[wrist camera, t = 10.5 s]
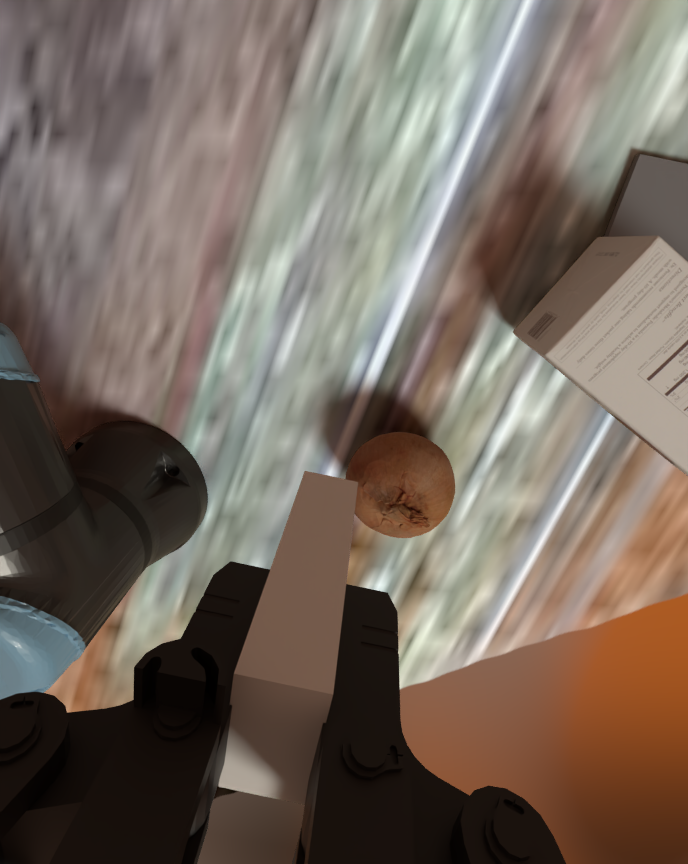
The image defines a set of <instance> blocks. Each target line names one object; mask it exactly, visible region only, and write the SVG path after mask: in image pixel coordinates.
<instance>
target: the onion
mask: <svg viewBox="0 0 688 864" xmlns="http://www.w3.org/2000/svg"><path fill="white" fill-rule="evenodd" d="M346 480H351V481H355V482H358V488H357V497H356V505H355V514H356V516H357V517H358V518H359V519H360V520H361V521H362V522H363V523H364V524H365V525H367V526H368V527H370V528H371V529H373V530H375V531H378V532H380V533H382V534H385V535H388V536H392V537H397V538H411V537H414V536H419V535H422V534H424V533H427V532H429V531H431V530H432V529H433V528H435V527H436V526H437V525H438V524H439V523H440V522H441V521H442V520H443V519H444V518H445V517H446V515H447V514H448V512H449V510H450V508H451V505H452V502H453V499H454V495H455V479H454V474H453V470H452V467H451V464H450V462H449V459H448V458H447V456H446V455H445V453H444V452H443V450H442V449H440V448H439V447H438V446H437V445H436V444H434V443H433V442H431V441H430V440H428V439H426V438H425V437H422V436H419V435H416V434H412V433H407V432H392V433H387V434H382V435H379V436H377V437H374V438H372V439H371V440H369V441H367V442H366V443H364V444H363V445H362V446H361V447H359V449H358V450H357V451H356V453H355V454H354V455H353V457H352V459H351V461H350V463H349V465H348V469H347V472H346Z"/></svg>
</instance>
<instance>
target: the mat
mask: <svg viewBox="0 0 688 864" xmlns="http://www.w3.org/2000/svg"><path fill="white" fill-rule="evenodd" d="M621 236H660V237H661V238H662V239H663V240H664V241H665V242H666V243H668V244H669V245H670V246H671V247H672V248H673V249H674V250H675V251H676V252H677V253H679V254H680V255H681V256H682V257H683V258H684V259H685V260H686V261H687V262H688V164H686V163H681V162H677V161H672V160H667V159H662V158H657V157H652V156H648V155H643V154H639V155H636V156H635V158H634V160H633V163H632V165H631V168H630V171H629V173H628V176H627V178H626V181H625V183H624V186H623V188H622V191H621V194H620V196H619V199H618V201H617V204H616V206H615V209H614V212H613V214H612V217H611V219H610V222H609V224H608V227H607V230H606V232H605V235H604V237H621Z"/></svg>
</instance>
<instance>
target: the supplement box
mask: <svg viewBox="0 0 688 864" xmlns="http://www.w3.org/2000/svg"><path fill="white" fill-rule="evenodd" d="M513 333H514V334H515V335H516V336H517V337H518V338H519V339H521V340H522V341H523V342H524V343H526V344H527V345H528V346H529V347H531V348H532V349H533V350H534V351H536V352H537V353H538V354H540V355H541V356H542V357H543V358H545V359H546V360H547V361H548V362H549V363H550V364H552V365H553V366H554V367H555V368H556V369H558V370H559V371H560V372H561V373H562V374H563V375H565V376H566V377H567V378H568V379H569V380H571V381H572V382H573V383H574V384H575V385H576V386H578V387H579V388H580V389H581V390H582V391H584V392H585V393H586V394H587V395H588V396H590V397H591V398H592V399H593V400H594V401H596V402H597V403H598V404H599V405H600V406H601V407H603V408H604V409H605V410H606V411H607V412H609V413H610V414H611V415H612V416H613V417H615V418H616V419H617V420H618V421H619V422H621V423H622V424H623V425H624V426H626V427H627V428H628V429H629V430H630V431H632V432H633V433H634V434H635V435H637V436H638V437H639V438H640V439H641V440H643V441H644V442H645V443H646V444H648V445H649V446H650V447H651V448H653V449H654V450H655V451H656V452H658V453H659V454H660V455H661V456H663V457H664V458H665V459H666V460H668V461H669V462H670V463H671V464H673V465H674V466H675V467H677V468H678V469H679V470H680V471H682V472H683V473H684V474H686V475H687V476H688V262H687V261H686V260H685V259H684V258H683V257H682V256H681V255H680V254H679V253H677V252H676V251H675V250H674V249H673V248H672V247H671V246H670V245H669V244H668V243H666V242H665V241H664V240H663V239H662V238H661V237H660V236H621V237H597V238H596V239H595V240H594V241H593V242H592V244H591V245H590V246H589V247H588V248H587V249H586V250H585V251H584V253H583V254H582V255H581V256H580V257H579V258H578V259H577V261H576V262H575V263H574V264H573V265H572V266H571V267H570V268H569V270H568V271H567V272H566V273H565V274H564V275H563V276H562V277H561V278H560V280H559V281H558V282H557V283H556V284H555V285H554V286H553V287H552V288H551V290H550V291H549V292H548V293H547V294H546V295H545V296H544V297H543V299H542V300H541V301H540V302H539V303H538V304H537V305H536V306H535V307H534V309H533V310H532V311H531V312H530V313H529V314H528V315H527V316H526V318H525V319H524V320H523V321H522V322H521V323H520V324H519V325H518V326H517V328H516V329H515V330H514V331H513Z"/></svg>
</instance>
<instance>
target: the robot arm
mask: <svg viewBox="0 0 688 864" xmlns="http://www.w3.org/2000/svg"><path fill="white" fill-rule="evenodd" d="M38 382H40V379H39V377H38V375H36V374H34V372H33V370H32V368H31V366H30V364H29V362H28V360H27V358H26V356H25V354H24V352H23V350H22V348H21V346H20V343H19V341H18V339H17V337H16V336H15V334H14V333H13V332H12V331H11V329H9V328H8V327H7V326H6V325H4V324H3V323H1V322H0V864H197V862H198V859H199V855H200V852H201V849H202V845H203V842H204V839H205V835H206V832H207V829H208V822H209V814H210V808H211V805H212V802H213V799H214V795H215V792H216V789H217V786H218V782H219V787H223V788H228V789H232V790H237V791H242V792H246V793H251V794H256V795H261V796H265V797H270V798H275V799H279V800H284V801H289V802H294V803H298V804H303V805H305V808H304V815H303V821H302V828H301V832H300V835H299V839H298V843H297V847H296V851H295V855H294V858H293V862H292V864H566V863H565V860H564V858H563V856H562V854H561V852H560V850H559V847H558V845H557V843H556V841H555V839H554V836H553V835H552V833H551V832H550V830H549V828H548V827H547V825H546V823H545V822H544V820H543V819H542V817H541V815H540V814H539V813H538V812H537V811H536V810H535V809H534V808H533V807H532V806H531V805H530V804H529V803H528V802H527V801H526V800H525V799H523V798H522V797H520V796H518V795H516V794H514V793H513V792H511V791H509V790H507V789H505V788H499V787H493V786H487V787H484V788H480V789H477V790H475V791H474V792H473V793H472V794H471V795H470V796H469V795H467V794H466V793H464V792H462V791H461V790H459V789H457V788H455V787H454V786H452V785H450V784H449V783H447V782H445V781H443V780H442V779H440V778H438V777H437V776H435V775H434V774H432V773H431V772H430V771H428V770H427V769H425V767H424V766H423V765H422V764H421V763H420V762H419V761H418V760H417V759H416V758H415V756H414V755H413V753H412V752H411V750H410V749H409V747H408V746H407V743H406V741H405V738H404V736H403V733H402V728H401V721H400V690H399V654H398V636H397V634H398V617H397V610H396V608H395V606H394V604H393V602H392V601H391V599H390V597H389V595H388V593H386V592H381V591H376V590H371V589H367V588H362V587H357V586H352V585H348V584H346V582H347V573H348V565H349V556H350V548H351V539H352V531H353V522H354V514H355V505H356V497H357V488H358V482H355V481H351V480H346V479H341V478H336V477H332V476H327V475H322V474H317V473H312V472H308V471H305V472H304V475H303V478H302V481H301V484H300V487H299V489H298V492H297V495H296V498H295V501H294V504H293V507H292V509H291V512H290V515H289V518H288V521H287V524H286V526H285V529H284V532H283V535H282V538H281V541H280V544H279V546H278V549H277V552H276V555H275V558H274V561H273V564H272V566H271V569H270V570H269V569H264V568H259V567H255V566H250V565H245V564H240V563H236V562H229V563H228V564H227V565H226V566H224V567H223V568H222V569H221V570H219V571H218V572H217V573H215V574H214V575H213V577H212V579H211V581H210V583H209V585H208V587H207V589H206V591H205V593H204V596H203V597H202V599H201V600H200V602H199V604H198V606H197V608H196V612H194V614H193V616H192V618H191V620H190V622H189V624H188V626H187V628H186V630H185V632H184V634H183V636H182V637H181V639H178V640H174V641H170V642H166V643H163V644H161V645H159V646H157V647H156V648H154V649H152V650H151V651H149V652H147V653H146V654H145V655H144V656H143V657H142V659H141V660H140V661H139V662H138V663H137V664H136V666H135V667H134V700H132V701H130V702H128V703H125V704H123V705H120V706H116V707H111V708H106V709H98V710H88V711H79V712H70V713H67V711H66V707H65V705H64V704H63V703H62V702H60V701H59V700H58V699H57V698H56V697H55V696H53V695H49V694H46V693H44V692H45V691H46V690H48V689H49V688H50V687H51V686H52V685H53V684H54V683H55V682H56V680H57V679H58V678H59V677H60V676H61V675H62V674H63V673H64V671H65V670H66V669H67V668H68V667H69V666H70V665H71V663H72V662H74V661H75V660H77V659H78V658H79V657H80V656H81V655H82V653H83V652H84V650H85V648H86V647H87V646H88V644H89V643H90V642H91V640H92V639H93V638H94V636H95V635H96V634H97V632H98V631H99V630H100V628H101V627H102V626H103V624H104V623H105V622H106V620H107V619H108V618H109V616H110V615H111V614H112V612H113V611H114V609H115V608H116V607H117V605H118V604H119V603H120V601H121V600H122V599H123V597H124V596H125V595H126V593H127V592H128V591H129V589H130V588H131V587H132V585H133V584H134V583H135V581H136V580H137V579H138V577H139V576H140V575H141V573H142V572H143V571H144V570H145V568H146V567H148V566H150V565H151V564H153V563H155V562H156V561H158V560H159V559H161V558H163V557H164V556H166V555H168V554H169V553H171V552H174V551H175V550H177V549H179V548H180V547H182V546H183V545H184V544H185V543H186V542H187V541H188V540H189V539H190V538H191V537H192V535H193V534H194V533H195V531H196V530H197V528H198V527H199V525H200V524H201V522H202V521H203V518H204V516H205V513H206V509H207V503H208V494H207V487H206V483H205V480H204V477H203V474H202V472H201V470H200V468H199V466H198V465H197V463H196V461H195V460H194V459H193V457H192V456H191V455H190V453H189V452H188V451H187V450H186V449H185V448H184V447H183V446H182V445H181V444H180V443H179V442H177V441H176V440H175V439H173V438H172V437H171V436H169V435H168V434H166V433H164V432H162V431H160V430H158V429H156V428H154V427H151V426H148V425H145V424H142V423H137V422H130V421H117V422H110V423H106V424H103V425H100V426H98V427H96V428H94V429H93V430H91V431H89V432H88V433H86V434H85V435H83V436H82V437H80V438H79V439H77V440H76V441H75V442H74V443H73V444H72V445H71V446H70V447H69V448H68V450H67V451H65V449H64V446H63V444H62V441H61V439H60V437H59V434H58V432H57V429H56V427H55V424H54V422H53V419H52V416H51V414H50V411H49V409H48V406H47V404H46V401H45V398H44V396H43V393H42V391H41V388H40V386H39V383H38Z"/></svg>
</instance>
